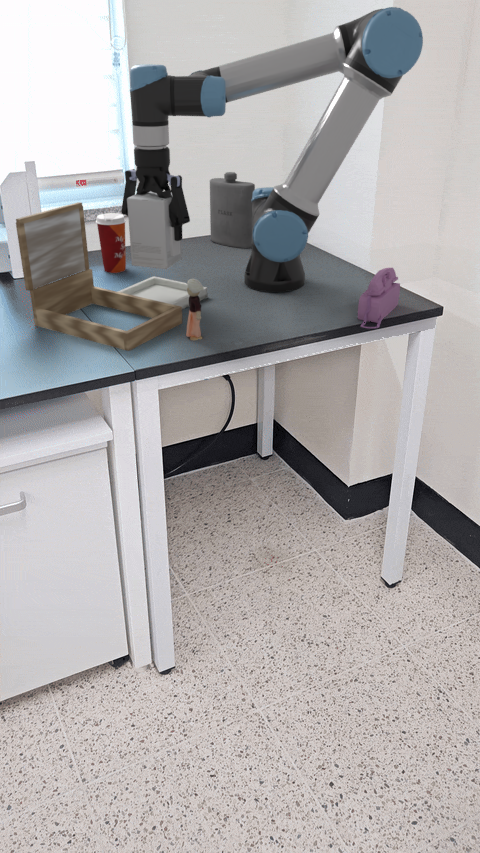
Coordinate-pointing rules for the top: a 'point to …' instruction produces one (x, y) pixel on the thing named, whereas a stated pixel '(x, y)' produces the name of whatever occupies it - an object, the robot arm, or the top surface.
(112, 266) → the paper cup
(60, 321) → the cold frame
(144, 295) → the tray
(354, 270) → the top surface
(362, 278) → the top surface
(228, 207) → the flask
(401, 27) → the robot arm
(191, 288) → the grandmother figurine
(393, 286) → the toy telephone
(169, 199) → the supplement box
